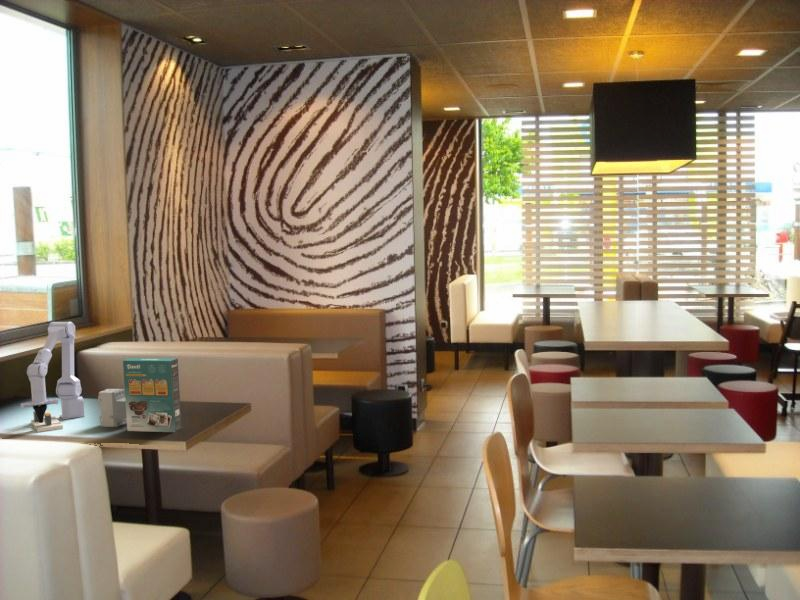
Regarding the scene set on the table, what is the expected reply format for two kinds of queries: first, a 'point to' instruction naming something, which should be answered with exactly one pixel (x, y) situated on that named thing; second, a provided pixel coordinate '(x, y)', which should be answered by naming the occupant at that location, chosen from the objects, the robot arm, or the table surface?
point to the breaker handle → (47, 418)
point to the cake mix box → (152, 394)
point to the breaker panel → (42, 426)
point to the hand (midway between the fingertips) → (40, 422)
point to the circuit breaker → (112, 407)
